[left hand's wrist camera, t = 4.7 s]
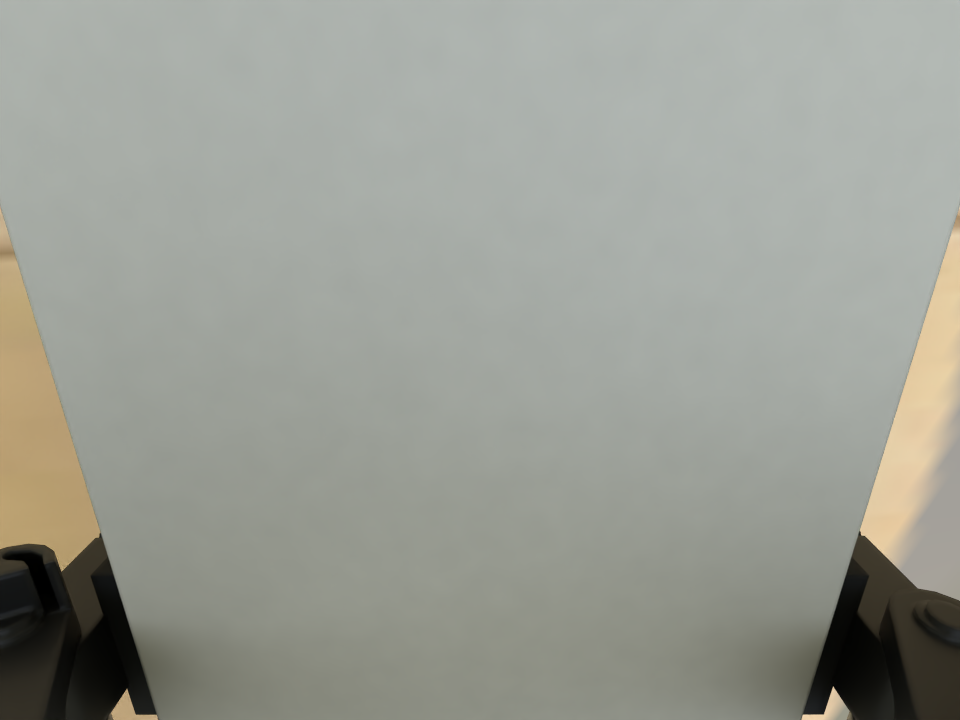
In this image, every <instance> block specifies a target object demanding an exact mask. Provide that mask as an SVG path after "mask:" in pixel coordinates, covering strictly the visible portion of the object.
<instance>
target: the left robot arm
mask: <svg viewBox="0 0 960 720" xmlns="http://www.w3.org/2000/svg"><path fill="white" fill-rule="evenodd" d="M833 687H834V688H835V690H836V691H837V693H838V694H839V696H840V697H841V699H842V700H843V702H844V703H845V705H846V706H847V708H848V709H849V711H850V712H849V715H848V718H847V720H960V601H959V600H956V599H954V598H951V597H948V596H946V595H943V594H940V593H937V592H934V591H928V590H923V589H918V588H917V587H916V586H914V584H913V583H911V582H910V581H909V580H908V579H907V578H906V577H905V576H904V575H903V574H902V573H901V572H900V571H899V570H898V569H897V568H896V567H895V566H894V565H893V564H892V563H891V562H890V561H889V560H888V559H887V558H886V557H885V556H884V555H883V554H882V553H881V552H880V551H879V550H878V549H877V548H876V547H875V546H874V545H873V544H872V543H871V542H870V541H869V540H868V539H867V538H866V537H865V536H861V532H860V531H859V534H858V537H857V540H856V544H855V547H854V550H853V553H852V557H851V560H850V563H849V566H848V570H847V573H846V576H845V579H844V583H843V586H842V589H841V592H840V596H839V599H838V602H837V605H836V608H835V612H834V615H833V618H832V621H831V625H830V628H829V631H828V634H827V638H826V641H825V644H824V647H823V651H822V654H821V657H820V660H819V664H818V667H817V670H816V673H815V677H814V680H813V683H812V686H811V690H810V693H809V696H808V699H807V703H806V706H805V709H804V712H803V714H824V712H825V709H826V706H827V703H828V700H829V697H830V694H831V691H832V688H833ZM126 689H128V692H129V695H130V698H131V701H132V704H133V707H134V710H135V713H136V715H157V713H156V710H155V707H154V704H153V700H152V697H151V694H150V691H149V687H148V684H147V681H146V678H145V674H144V671H143V668H142V665H141V661H140V658H139V655H138V652H137V648H136V645H135V642H134V639H133V635H132V632H131V629H130V626H129V622H128V619H127V616H126V613H125V609H124V606H123V603H122V600H121V596H120V593H119V590H118V587H117V583H116V580H115V577H114V574H113V570H112V567H111V564H110V561H109V558H108V554H107V551H106V548H105V545H104V541H103V538H102V535H101V533H100V536H99V538H95V539H94V540H93V541H92V542H91V543H90V544H89V545H88V546H87V547H86V548H85V549H84V550H83V551H82V552H81V553H80V554H79V555H78V556H77V557H76V558H75V559H74V560H73V561H72V562H71V563H70V564H69V565H68V566H67V567H66V568H65V569H64V570H63V571H62V572H61V570H60V567H59V564H58V561H57V558H56V555H55V553H54V551H53V550H51V549H50V548H48V547H47V546H45V545H37V544H24V545H18V546H11V547H6V548H3V549H0V720H113V718H112V715H111V712H112V710H113V709H114V707H115V706H116V704H117V703H118V701H119V700H120V698H121V697H122V695H123V694H124V692H125V691H126Z"/></svg>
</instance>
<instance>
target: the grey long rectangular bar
mask: <svg viewBox="0 0 960 720" xmlns="http://www.w3.org/2000/svg"><path fill="white" fill-rule="evenodd" d="M959 206H960V0H0V207H1V210H2V213H3V217H4V220H5V223H6V226H7V230H8V233H9V236H10V239H11V243H12V246H13V249H14V252H15V256H16V259H17V262H18V265H19V269H20V272H21V275H22V278H23V282H24V285H25V288H26V291H27V295H28V298H29V301H30V304H31V308H32V311H33V314H34V317H35V321H36V324H37V327H38V330H39V334H40V337H41V340H42V343H43V347H44V350H45V353H46V356H47V360H48V363H49V366H50V369H51V373H52V376H53V379H54V382H55V385H56V389H57V392H58V395H59V398H60V402H61V405H62V408H63V411H64V415H65V418H66V421H67V424H68V428H69V431H70V434H71V437H72V441H73V444H74V447H75V450H76V454H77V457H78V460H79V463H80V467H81V470H82V473H83V476H84V480H85V483H86V486H87V489H88V493H89V496H90V499H91V502H92V506H93V509H94V512H95V515H96V519H97V522H98V525H99V528H100V532H101V535H102V538H103V541H104V545H105V548H106V551H107V554H108V558H109V561H110V564H111V567H112V570H113V574H114V577H115V580H116V583H117V587H118V590H119V593H120V596H121V600H122V603H123V606H124V609H125V613H126V616H127V619H128V622H129V626H130V629H131V632H132V635H133V639H134V642H135V645H136V648H137V652H138V655H139V658H140V661H141V665H142V668H143V671H144V674H145V678H146V681H147V684H148V687H149V691H150V694H151V697H152V700H153V704H154V707H155V710H156V713H157V717H158V720H801V719H802V715H803V712H804V709H805V706H806V703H807V699H808V696H809V693H810V690H811V686H812V683H813V680H814V677H815V673H816V670H817V667H818V664H819V660H820V657H821V654H822V651H823V647H824V644H825V641H826V638H827V634H828V631H829V628H830V625H831V621H832V618H833V615H834V612H835V608H836V605H837V602H838V599H839V596H840V592H841V589H842V586H843V583H844V579H845V576H846V573H847V570H848V566H849V563H850V560H851V557H852V553H853V550H854V547H855V544H856V540H857V537H858V534H859V531H860V527H861V524H862V521H863V518H864V514H865V511H866V508H867V505H868V501H869V498H870V495H871V492H872V488H873V485H874V482H875V479H876V476H877V472H878V469H879V466H880V463H881V459H882V456H883V453H884V450H885V446H886V443H887V440H888V437H889V433H890V430H891V427H892V424H893V420H894V417H895V414H896V411H897V407H898V404H899V401H900V398H901V394H902V391H903V388H904V385H905V381H906V378H907V375H908V372H909V369H910V365H911V362H912V359H913V356H914V352H915V349H916V346H917V343H918V339H919V336H920V333H921V330H922V326H923V323H924V320H925V317H926V313H927V310H928V307H929V304H930V300H931V297H932V294H933V291H934V287H935V284H936V281H937V278H938V274H939V271H940V268H941V265H942V262H943V258H944V255H945V252H946V249H947V245H948V242H949V239H950V236H951V232H952V229H953V226H954V223H955V219H956V216H957V213H958V210H959Z"/></svg>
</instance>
